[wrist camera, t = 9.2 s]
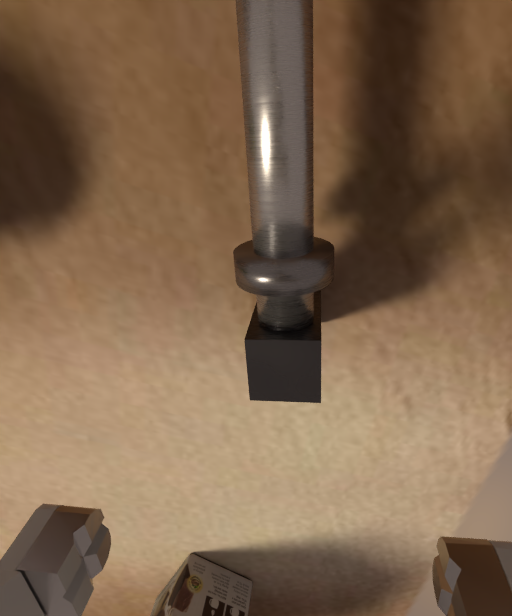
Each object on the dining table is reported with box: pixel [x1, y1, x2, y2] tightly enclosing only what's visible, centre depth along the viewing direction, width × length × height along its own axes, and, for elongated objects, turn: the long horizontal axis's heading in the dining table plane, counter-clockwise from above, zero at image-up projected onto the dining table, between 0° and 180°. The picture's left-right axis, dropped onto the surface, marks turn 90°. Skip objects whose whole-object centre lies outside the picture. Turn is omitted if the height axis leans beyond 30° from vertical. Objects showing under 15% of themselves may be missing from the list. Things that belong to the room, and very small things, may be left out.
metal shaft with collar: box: [233, 0, 334, 403], centre depth 16 cm, size 20×4×7 cm, turn 4°
